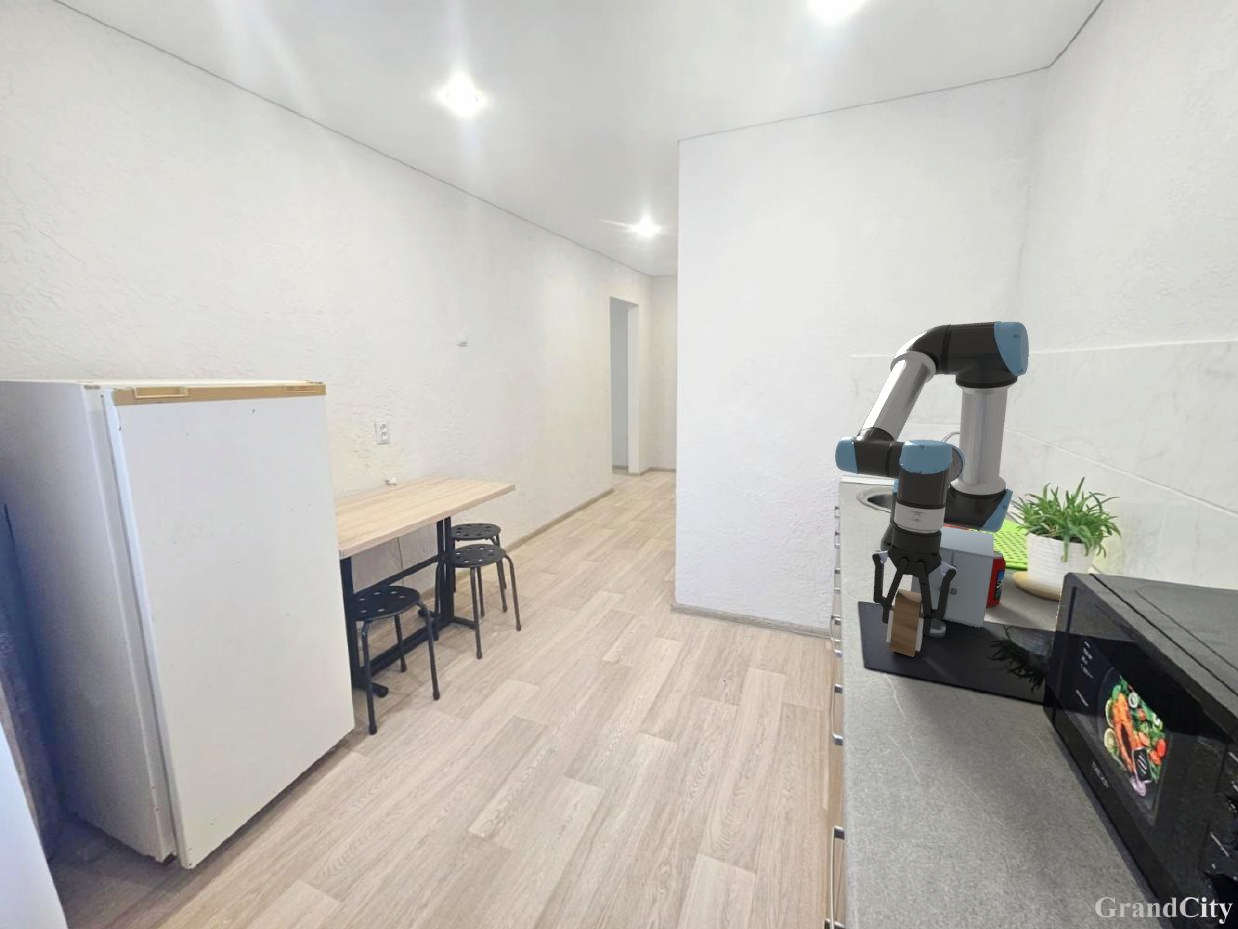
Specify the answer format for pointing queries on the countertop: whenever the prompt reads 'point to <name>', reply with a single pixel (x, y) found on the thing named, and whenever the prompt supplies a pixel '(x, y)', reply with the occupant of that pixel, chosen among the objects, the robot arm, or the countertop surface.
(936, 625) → the token
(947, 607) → the cabinet
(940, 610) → the robot arm
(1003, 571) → the beverage can
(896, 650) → the upright wooden brick
